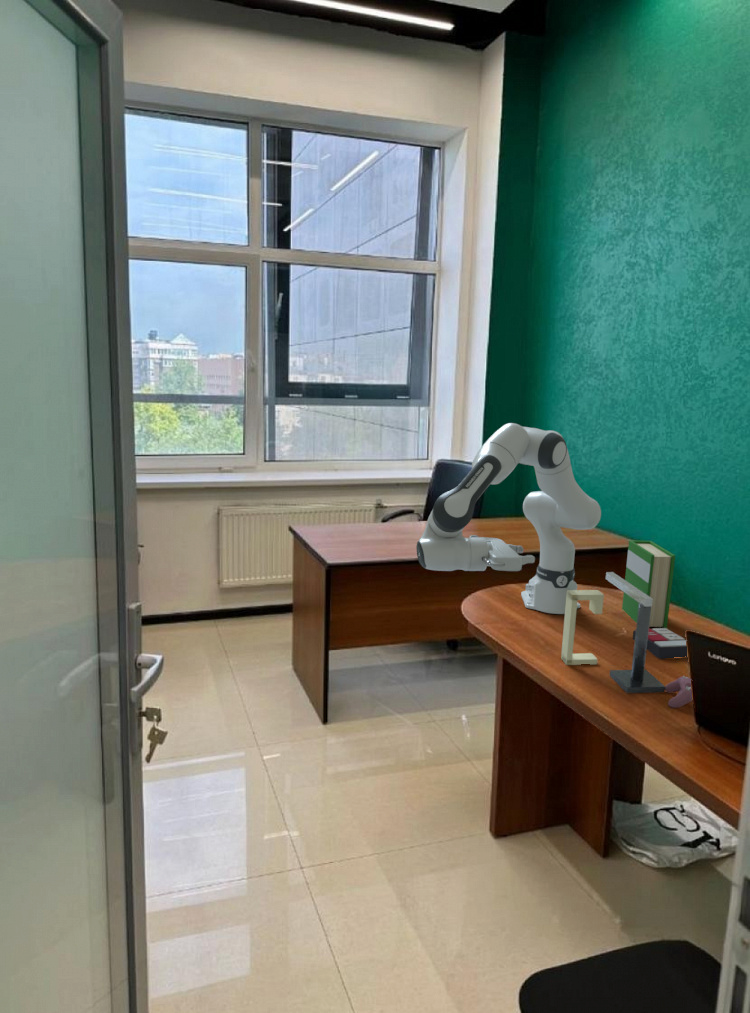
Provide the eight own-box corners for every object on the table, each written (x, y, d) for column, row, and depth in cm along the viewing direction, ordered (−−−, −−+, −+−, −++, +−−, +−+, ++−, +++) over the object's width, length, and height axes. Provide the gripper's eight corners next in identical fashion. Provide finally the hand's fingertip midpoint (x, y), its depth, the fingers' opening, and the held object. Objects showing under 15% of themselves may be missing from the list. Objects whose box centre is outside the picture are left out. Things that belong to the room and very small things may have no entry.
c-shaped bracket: (560, 658, 194) (566, 590, 190) (591, 658, 195) (597, 589, 191) (566, 665, 190) (572, 595, 186) (597, 664, 191) (603, 594, 187)
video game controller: (683, 716, 167) (701, 694, 165) (666, 705, 168) (683, 683, 166) (679, 698, 176) (695, 677, 174) (662, 688, 177) (678, 666, 175)
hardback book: (666, 629, 218) (675, 555, 213) (643, 629, 218) (651, 555, 213) (643, 609, 236) (651, 540, 231) (621, 609, 235) (629, 540, 230)
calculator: (666, 626, 212) (696, 643, 197) (665, 640, 212) (695, 658, 198) (632, 627, 210) (660, 645, 195) (631, 641, 211) (659, 659, 196)
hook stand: (585, 650, 200) (592, 572, 195) (618, 650, 201) (626, 571, 196) (626, 693, 175) (636, 603, 170) (664, 692, 176) (675, 603, 171)
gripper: (488, 553, 176) (542, 553, 177) (469, 533, 195) (517, 533, 197) (487, 577, 177) (540, 577, 178) (468, 555, 197) (515, 555, 198)
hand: (528, 554), depth 188 cm, fingers open, 8 cm apart
